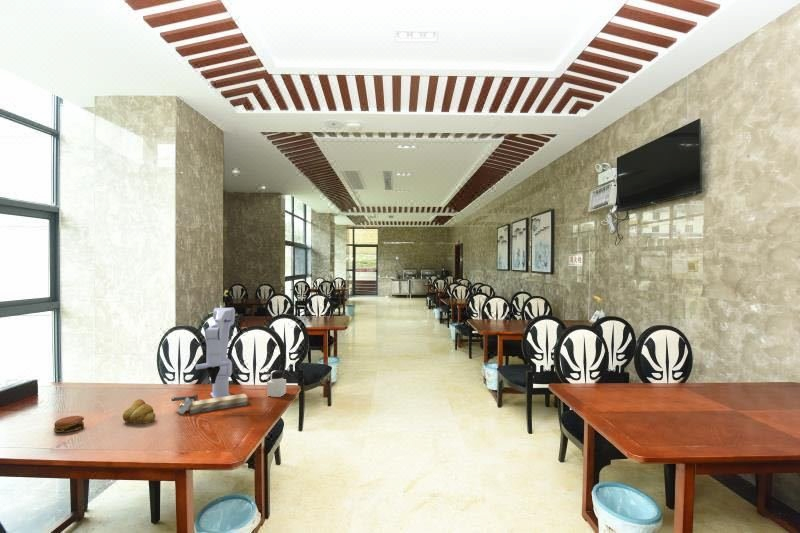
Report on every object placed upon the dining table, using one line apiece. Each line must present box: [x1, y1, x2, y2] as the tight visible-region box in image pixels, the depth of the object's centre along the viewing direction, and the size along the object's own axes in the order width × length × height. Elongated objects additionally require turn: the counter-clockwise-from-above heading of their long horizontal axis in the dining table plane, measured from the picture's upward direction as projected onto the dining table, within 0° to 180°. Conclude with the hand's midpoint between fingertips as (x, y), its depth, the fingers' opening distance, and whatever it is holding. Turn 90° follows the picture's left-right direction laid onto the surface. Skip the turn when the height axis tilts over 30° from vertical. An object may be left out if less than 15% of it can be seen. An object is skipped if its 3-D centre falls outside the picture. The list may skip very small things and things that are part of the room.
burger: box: [53, 415, 85, 433], centre depth 164 cm, size 10×9×5 cm
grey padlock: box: [266, 369, 287, 398], centre depth 212 cm, size 7×7×12 cm
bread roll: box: [122, 398, 156, 424], centre depth 173 cm, size 13×10×8 cm
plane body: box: [188, 393, 249, 414], centre depth 192 cm, size 24×7×4 cm, turn 123°
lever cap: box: [176, 397, 193, 415], centre depth 184 cm, size 5×6×3 cm
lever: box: [171, 394, 199, 402], centre depth 189 cm, size 10×2×5 cm, turn 115°
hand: (213, 383), depth 194 cm, fingers closed
